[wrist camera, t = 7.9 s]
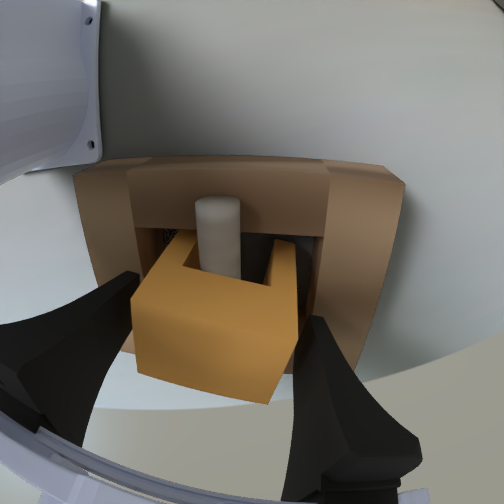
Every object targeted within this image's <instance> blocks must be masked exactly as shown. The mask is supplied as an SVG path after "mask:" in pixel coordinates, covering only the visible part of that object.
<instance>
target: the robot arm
mask: <svg viewBox="0 0 504 504" xmlns="http://www.w3.org/2000/svg"><path fill="white" fill-rule="evenodd" d="M100 10H101V1H100V0H85V1H83V2H81V1H78V0H0V185H1V184H3V183H5V182H7V181H9V180H11V179H14V178H16V177H18V176H20V175H22V174H24V173H26V172H29V171H35V170H42V169H48V168H56V167H63V166H72V165H80V164H90V163H95V162H98V161H99V160H100V159H101V158H102V155H103V150H102V140H101V128H100V113H99V90H98V46H99V24H100ZM91 19H93V20H92V23H91V24H90V25H89V21H90V20H91ZM91 141H93V142H94V144H95V147H94V148H93V147H92V145H91ZM139 286H140V274H139V273H135V272H131V271H128V270H127V271H125V272H123V273H121V274H120V275H118V276H116V277H115V278H113V279H111V280H110V281H108V282H106V283H105V284H103V285H101V286H100V287H98V288H96V289H95V290H93V291H91V292H90V293H88V294H86V295H84V296H82V297H80V298H78V299H76V300H75V301H73V302H71V303H69V304H67V305H64V306H62V307H60V308H57V309H55V310H53V311H50V312H47V313H44V314H42V315H39V316H36V317H33V318H29V319H26V320H22V321H18V322H13V323H8V324H2V325H0V463H1V464H3V465H4V466H5V467H7V468H8V469H9V470H11V471H12V472H13V473H15V474H16V475H18V476H19V477H20V478H22V479H23V480H25V481H26V482H28V483H29V484H31V485H32V486H34V487H36V488H37V489H39V490H40V491H42V494H41V496H40V499H39V501H38V504H166V503H163V502H159V501H156V500H152V499H149V498H147V497H144V496H141V495H137V494H135V493H132V492H129V491H126V490H124V489H121V488H119V487H116V486H114V485H111V484H109V483H106V482H104V481H102V480H99V479H97V478H94V477H92V476H89V474H88V473H87V472H86V471H85V470H87V471H89V472H91V473H93V474H95V475H98V476H100V477H102V478H104V479H107V480H109V481H112V482H114V483H117V484H119V485H122V486H124V487H127V488H130V489H132V490H135V491H138V492H141V493H144V494H147V495H150V496H153V497H156V498H160V499H163V500H166V501H170V502H174V503H178V504H430V499H429V492H428V488H422V489H417V490H411V491H406V492H402V493H399V494H397V487H400V486H401V480H400V478H401V477H403V476H404V475H406V474H407V473H409V472H410V471H412V470H414V469H415V468H416V467H418V466H419V465H420V463H421V462H422V459H423V458H422V453H421V447H420V443H419V439H418V438H417V437H416V436H415V435H413V434H412V433H411V432H409V431H408V430H407V429H405V428H404V427H403V426H402V425H400V424H399V423H398V422H397V421H396V420H395V419H394V418H392V416H390V415H389V414H388V413H387V412H386V411H385V410H384V409H383V408H382V407H381V406H380V405H379V403H378V402H377V401H376V400H375V399H374V398H373V397H372V396H371V394H370V393H369V392H368V391H367V389H366V388H365V387H364V386H363V384H362V383H361V382H360V380H359V379H358V377H357V376H356V375H355V373H354V372H353V370H352V368H351V367H350V365H349V364H348V362H347V360H346V359H345V357H344V355H343V353H342V352H341V350H340V348H339V346H338V344H337V343H336V341H335V339H334V337H333V335H332V333H331V331H330V329H329V327H328V325H327V323H326V321H325V319H324V317H321V316H316V315H311V314H309V316H308V318H307V321H306V323H305V325H304V328H303V330H302V332H301V335H300V337H299V339H298V342H297V344H296V346H295V352H294V361H293V397H294V421H293V431H292V440H291V447H290V455H289V461H288V467H287V473H286V479H285V483H284V488H283V492H282V497H281V501H272V500H262V499H253V498H246V497H239V496H232V495H227V494H222V493H216V492H211V491H206V490H202V489H197V488H193V487H189V486H185V485H181V484H177V483H174V482H170V481H166V480H163V479H160V478H156V477H154V476H150V475H147V474H144V473H141V472H139V471H136V470H133V469H130V468H127V467H125V466H122V465H120V464H117V463H115V462H112V461H110V460H107V459H105V458H102V457H100V456H98V455H96V454H94V453H91V452H89V451H87V450H85V449H83V448H82V445H83V441H84V437H85V432H86V429H87V425H88V422H89V419H90V415H91V413H92V409H93V406H94V404H95V401H96V398H97V396H98V393H99V390H100V388H101V385H102V383H103V381H104V378H105V376H106V374H107V372H108V370H109V368H110V366H111V364H112V363H113V361H114V359H115V358H116V356H117V354H118V352H119V351H120V349H121V347H122V346H123V344H124V343H125V341H126V339H127V338H128V336H129V334H130V333H131V331H132V329H133V327H132V315H131V301H130V299H131V298H132V296H133V295H134V293H135V292H136V290H137V289H138V287H139ZM79 467H80V468H79ZM81 468H82V469H81ZM83 469H84V470H83Z"/></svg>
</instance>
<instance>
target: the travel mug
mask: <svg viewBox="0 0 504 504" xmlns="http://www.w3.org/2000/svg"><path fill="white" fill-rule="evenodd" d="M495 2H497V3H498V4H499V5H500V6H501V7H502V8H503V9H504V0H495Z"/></svg>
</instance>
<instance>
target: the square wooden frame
mask: <svg viewBox="0 0 504 504" xmlns="http://www.w3.org/2000/svg"><path fill="white" fill-rule="evenodd" d="M73 180H74V186H75V192H76V197H77V203H78V208H79V213H80V218H81V222H82V227H83V231H84V236H85V240H86V244H87V248H88V252H89V256H90V259H91V263H92V267H93V270H94V274H95V277H96V281H97V284H98V287H100V286H101V285H103V284H105V283H106V282H108V281H110V280H111V279H113V278H115V277H116V276H118V275H120V274H121V273H123V272H125V271H127V270H128V271H131V272H135V273H139V274H140V284H141V283H142V281H143V280H144V278H145V277H146V276H147V274H148V273H149V271H150V270H151V268H152V267H153V266H154V264H155V263H156V261H157V260H158V259H159V257H160V256H161V254H162V253H163V252H164V250H165V244H164V237H163V229H162V228H169V229H192V230H197V237H198V249H199V261H200V270H201V271H205V272H209V273H214V274H218V275H222V276H226V277H231V278H235V279H239V280H241V255H240V232H251V233H269V234H286V235H302V236H315V239H314V247H313V256H312V264H311V272H310V279H309V287H308V294H307V301H306V308H301V307H297V312H298V339H299V337H300V335H301V332H302V330H303V328H304V325H305V323H306V321H307V318H308V316H309V314H311V315H316V316H321V317H324V319H325V321H326V323H327V325H328V327H329V329H330V331H331V333H332V335H333V337H334V339H335V341H336V343H337V344H338V346H339V348H340V350H341V352H342V353H343V355H344V357H345V359H346V360H347V362H348V364H349V365H350V367H351V368H352V370H353V372H354V370H355V367H356V365H357V362H358V360H359V357H360V354H361V351H362V349H363V346H364V343H365V340H366V337H367V334H368V331H369V329H370V325H371V322H372V319H373V316H374V313H375V310H376V307H377V303H378V300H379V297H380V293H381V290H382V286H383V283H384V279H385V275H386V272H387V268H388V264H389V260H390V256H391V252H392V248H393V244H394V239H395V235H396V230H397V226H398V221H399V216H400V211H401V205H402V200H403V194H404V189H405V183H404V182H403V181H401V180H400V179H399V178H398V177H396V176H395V175H394V174H393V173H391V172H390V171H389V170H387V169H386V168H385V167H384V166H378V165H370V164H362V163H353V162H343V161H333V160H321V159H309V158H293V157H275V156H246V155H186V156H158V157H139V158H125V159H112V160H105V161H103V162H101V163H98V164H96V165H94V166H92V167H90V168H87V169H85V170H83V171H81V172H79V173H77V174H75V175H73ZM297 342H298V341H297ZM296 344H297V343H296ZM120 350H121V351H123V352H127V353H132V354H135V347H134V337H133V329H132V331H131V333H130V334H129V336H128V338H127V339H126V341H125V343H124V344H123V346H122V347H121V349H120ZM294 352H295V348H294V350H293V352H292V354H291V357H290V359H289V361H288V363H287V365H286V368H285V370H284V372H283V374H293V361H294Z"/></svg>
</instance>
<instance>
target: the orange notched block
mask: <svg viewBox="0 0 504 504" xmlns="http://www.w3.org/2000/svg"><path fill="white" fill-rule="evenodd" d="M130 301H131V315H132V327H133V337H134V347H135V355H136V363H137V371H138V373H141V374H144V375H147V376H150V377H153V378H157V379H160V380H163V381H167V382H170V383H174V384H177V385H181V386H184V387H188V388H192V389H196V390H200V391H204V392H208V393H212V394H216V395H221V396H225V397H230V398H235V399H240V400H245V401H250V402H255V403H261V404H268V403H269V401H270V399H271V397H272V395H273V393H274V391H275V389H276V387H277V385H278V382H279V380H280V378H281V376H282V374H283V372H284V370H285V368H286V365H287V363H288V361H289V359H290V357H291V354H292V352H293V350H294V348H295V346H296V343H297V341H298V312H297V279H296V254H295V243H291V242H286V241H282V240H278V239H275V241H274V245H273V249H272V252H271V256H270V260H269V263H268V267H267V271H266V274H265V278H264V282H263V285H261V284H257V283H252V282H248V281H244V280H239V279H235V278H231V277H226V276H222V275H218V274H214V273H209V272H205V271H201V270H200V261H199V249H198V237H197V230H192V229H180V230H179V231H178V232H177V234H176V235H175V236H174V238H173V239H172V241H171V242H170V243H169V245H168V246H167V247H166V249H165V250H164V252H163V253H162V254H161V256H160V257H159V259H158V260H157V261H156V263H155V264H154V266H153V267H152V268H151V270H150V271H149V273H148V274H147V276H146V277H145V278H144V280H143V281H142V283H141V284H140V286H139V287H138V289H137V290H136V292H135V293H134V295H133V296H132V298H131V299H130Z"/></svg>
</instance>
